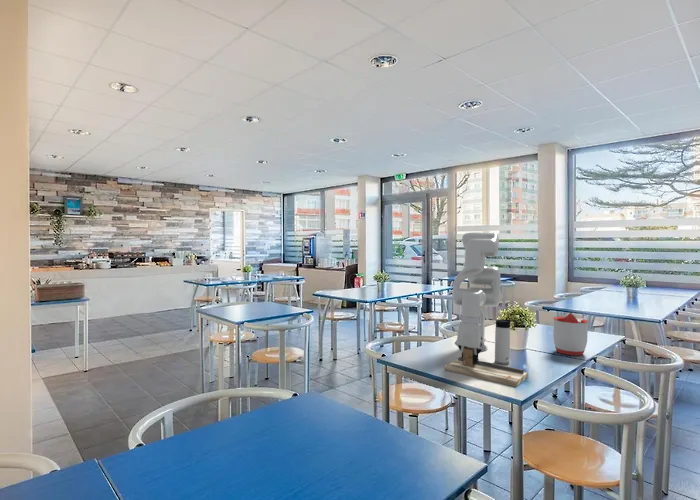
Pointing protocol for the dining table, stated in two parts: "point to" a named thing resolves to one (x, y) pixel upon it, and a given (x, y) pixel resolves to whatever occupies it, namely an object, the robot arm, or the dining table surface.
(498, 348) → the travel mug
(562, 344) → the citrus juicer
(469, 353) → the brown block
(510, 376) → the board
